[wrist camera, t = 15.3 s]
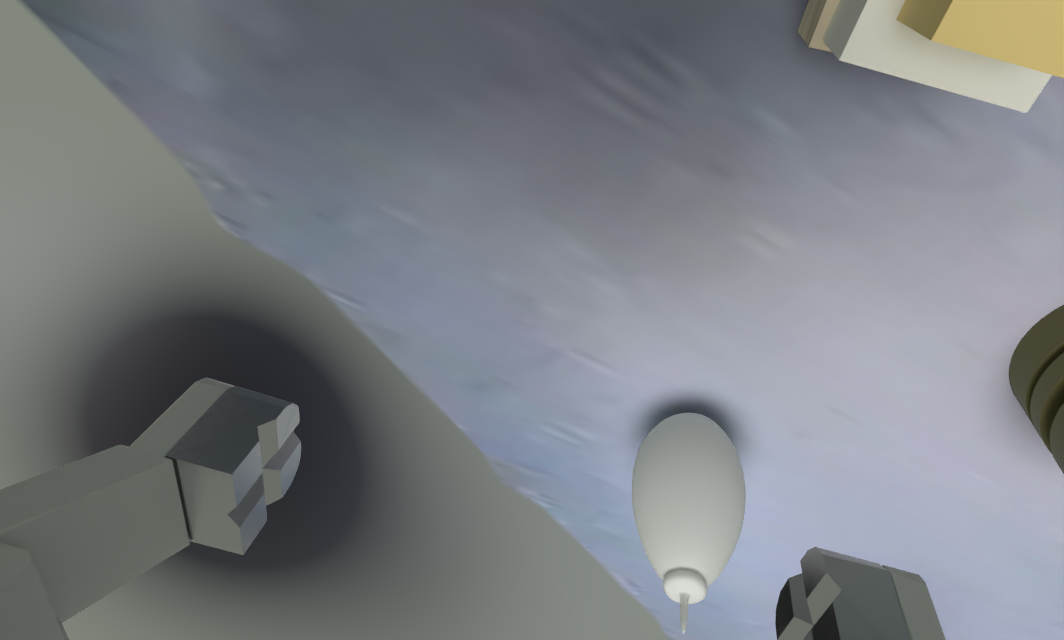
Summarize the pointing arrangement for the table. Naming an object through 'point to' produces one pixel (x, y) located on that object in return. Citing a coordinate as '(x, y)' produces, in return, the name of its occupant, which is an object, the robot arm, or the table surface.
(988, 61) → the painted tower top
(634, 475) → the air blower bulb
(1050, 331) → the piston
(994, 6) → the mustard cube
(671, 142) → the table surface
